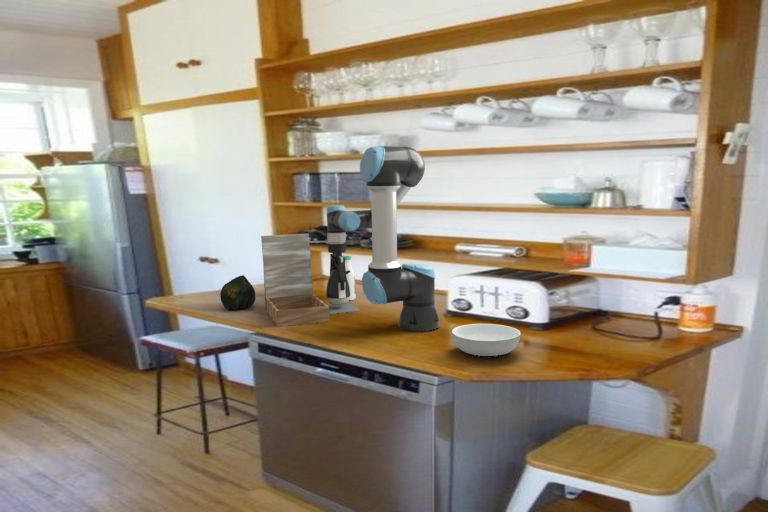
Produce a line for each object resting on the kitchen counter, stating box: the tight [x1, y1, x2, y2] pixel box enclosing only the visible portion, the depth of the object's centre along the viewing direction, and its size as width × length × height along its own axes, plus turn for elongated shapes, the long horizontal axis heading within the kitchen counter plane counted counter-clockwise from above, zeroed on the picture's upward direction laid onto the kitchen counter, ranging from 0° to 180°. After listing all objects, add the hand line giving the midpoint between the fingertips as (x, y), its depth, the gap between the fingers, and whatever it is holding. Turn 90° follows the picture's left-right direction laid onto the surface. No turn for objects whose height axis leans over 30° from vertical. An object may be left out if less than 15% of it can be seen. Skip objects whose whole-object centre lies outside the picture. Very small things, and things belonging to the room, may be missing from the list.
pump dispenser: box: [325, 269, 350, 306], centre depth 234 cm, size 10×10×15 cm
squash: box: [219, 274, 256, 310], centre depth 242 cm, size 14×15×15 cm
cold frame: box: [260, 233, 330, 328], centre depth 225 cm, size 32×20×32 cm, turn 21°
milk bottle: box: [342, 255, 357, 301], centre depth 254 cm, size 8×8×20 cm
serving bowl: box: [451, 323, 521, 357], centre depth 172 cm, size 21×21×7 cm
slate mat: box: [327, 302, 361, 315], centre depth 236 cm, size 14×14×1 cm
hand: (338, 295), depth 235 cm, fingers closed on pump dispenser, 10 cm apart
